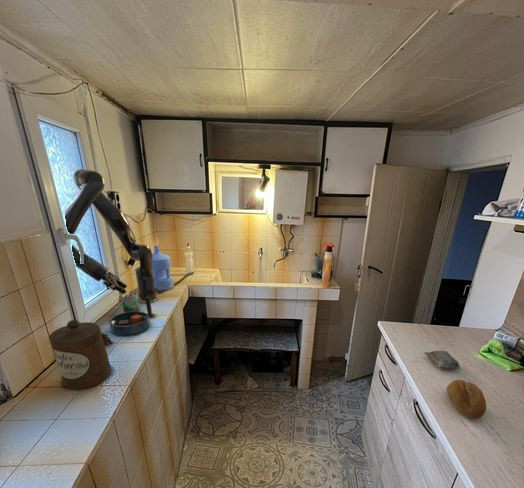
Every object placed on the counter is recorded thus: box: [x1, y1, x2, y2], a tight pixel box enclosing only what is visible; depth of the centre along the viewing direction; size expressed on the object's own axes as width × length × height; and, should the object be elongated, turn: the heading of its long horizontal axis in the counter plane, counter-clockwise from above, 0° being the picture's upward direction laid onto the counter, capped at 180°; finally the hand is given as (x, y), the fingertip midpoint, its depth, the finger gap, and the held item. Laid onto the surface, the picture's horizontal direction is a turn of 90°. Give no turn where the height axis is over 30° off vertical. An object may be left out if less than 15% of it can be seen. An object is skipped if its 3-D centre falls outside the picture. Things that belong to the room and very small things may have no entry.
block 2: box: [130, 315, 143, 325], centre depth 138 cm, size 4×4×4 cm
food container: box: [120, 290, 140, 313], centre depth 153 cm, size 12×6×10 cm, turn 179°
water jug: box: [152, 245, 175, 292], centre depth 186 cm, size 16×16×28 cm
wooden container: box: [48, 319, 112, 390], centre depth 97 cm, size 15×15×22 cm
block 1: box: [118, 320, 130, 326], centre depth 133 cm, size 4×4×4 cm
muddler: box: [145, 297, 155, 319], centre depth 146 cm, size 4×4×11 cm
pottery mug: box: [101, 332, 113, 347], centre depth 118 cm, size 12×10×8 cm
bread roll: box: [446, 379, 487, 420], centre depth 90 cm, size 10×15×8 cm, turn 168°
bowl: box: [108, 310, 151, 336], centre depth 136 cm, size 18×18×5 cm
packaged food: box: [423, 350, 462, 370], centre depth 113 cm, size 9×12×5 cm
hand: (125, 290), depth 139 cm, fingers open, 8 cm apart
